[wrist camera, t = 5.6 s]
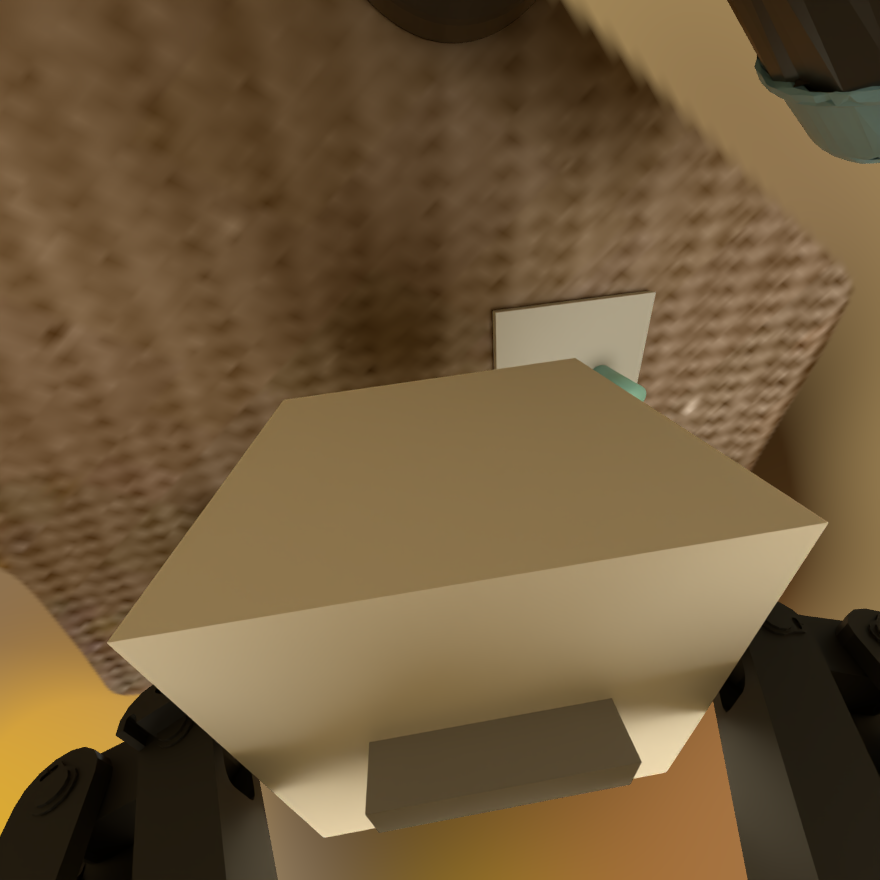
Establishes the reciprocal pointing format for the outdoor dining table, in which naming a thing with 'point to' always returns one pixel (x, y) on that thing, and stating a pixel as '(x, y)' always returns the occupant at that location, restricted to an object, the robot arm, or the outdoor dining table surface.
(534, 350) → the board
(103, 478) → the outdoor dining table surface
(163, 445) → the outdoor dining table surface
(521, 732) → the block
